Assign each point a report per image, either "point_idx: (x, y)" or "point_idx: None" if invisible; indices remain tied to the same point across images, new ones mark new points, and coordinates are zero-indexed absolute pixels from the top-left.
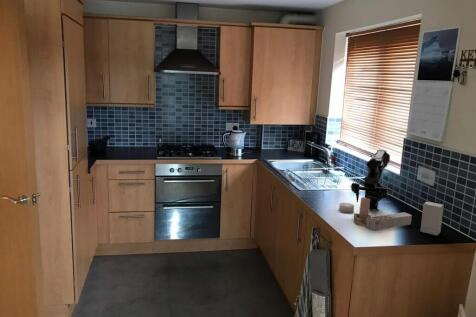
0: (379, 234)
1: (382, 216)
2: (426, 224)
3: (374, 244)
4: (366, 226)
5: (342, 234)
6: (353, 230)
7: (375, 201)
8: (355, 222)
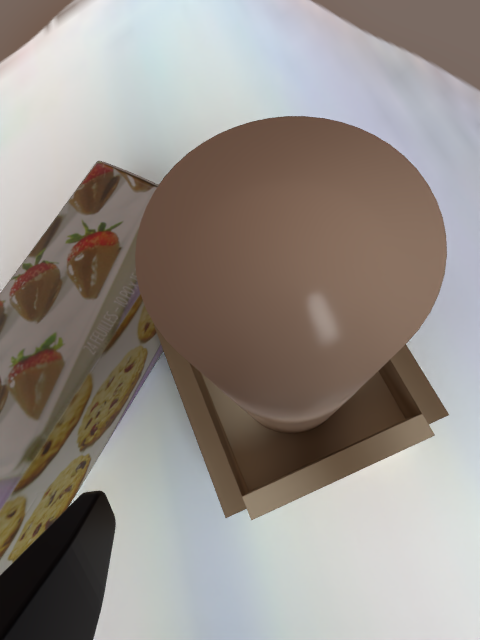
0: None
1: (23, 377)
2: None
3: (86, 17)
4: None
5: (313, 5)
6: None
7: (56, 562)
8: None
